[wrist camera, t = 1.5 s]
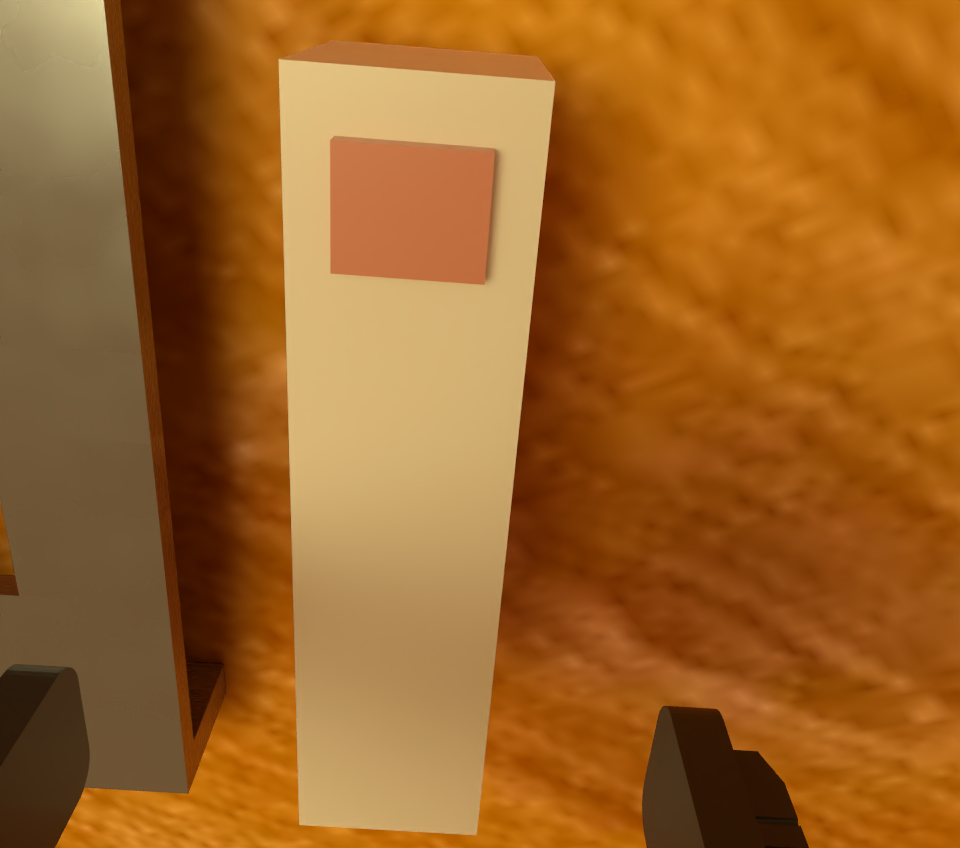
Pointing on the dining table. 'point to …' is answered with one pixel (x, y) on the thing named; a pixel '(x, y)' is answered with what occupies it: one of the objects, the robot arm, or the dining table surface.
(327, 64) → the cream rectangular block
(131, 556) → the slotted board
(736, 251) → the dining table surface
